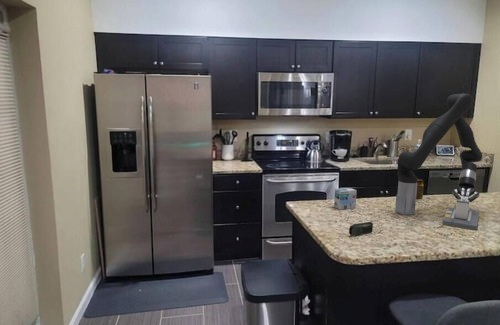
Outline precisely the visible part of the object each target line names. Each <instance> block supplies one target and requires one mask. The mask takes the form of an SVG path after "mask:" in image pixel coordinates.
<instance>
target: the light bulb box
mask: <svg viewBox="0 0 500 325" xmlns="http://www.w3.org/2000/svg"><path fill="white" fill-rule="evenodd" d="M333 200H334V202H333V207H334V208H336V209H338V210H339V211H340V210H354V209H356V207H357V189H354V188H352V187H344V188H341V187H340V188H334V199H333Z"/></svg>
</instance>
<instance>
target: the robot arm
mask: <svg viewBox="0 0 500 325" xmlns="http://www.w3.org/2000/svg"><path fill="white" fill-rule="evenodd" d="M473 100H474V98H473V97H472V95H471V94H469V93H455V94H451V95H449V96H448V97H447V99H446V101H445V102H446V108H447V110H448V111H447V112H445V113H443V114H442V115H440V116H438V117H437V118H436V119H434V120H432V122H431V123H430V124H429V125H428V126H427V127H426V128H425V130H424V132H423V134H422V139H421V143H420V145H419V146H418V147H417V149H416V150H414V151H413V152H412V151H402V152H401V153H400V154H399V156H398V157H397V158H398V159H397V177H398V183H397V184H398V186H397V194H396V195H395V205H394V206H395V207H394V212H395V213H398V214H401V215H403V216H404V215H406V216H407V215H408V216H409V215H410V216H411V215H412V216H414V215H415V213H416V205H417V204H416V202H417V200H416V192H417V180H418V179H419V178H418V176H417V175H415V173H414V171H417V170H419V169H420V168H421V167H422V166H423V164H424V163H425V161H426V160H427V158H428V157H429V155H430V154H431V153H432V151H433V150H434V148H435V147H436V146H437V145H438V143H439V142H440V141H441V140H442V139H443V138H444V137H445V136H446V134H447V133H448V131H450V130H451V128H452V127H453V126H454V127H455V128H456V133H457V136H458V139H459V143H460V146H461V147H462V148H465V150H462V151H461V152H460V153H459V158H460V159H459V160H460V163H461V169H460V175H459V179H458V185H457V187H456V189H452V190H451V193H452V195H453V196H454V198H455V199H456V200H457V199H463V200H470V201H469V203H473V202H474V201H475V200H476V199H479V197H480V192H477V191H476V181H477V169H478V168H477V163H478V162H481V161H482V160H483V152H482V151H481V150H480V148H479V146H478V144H477V142H476V140H475V136H474V131H473V130H472V128H471V126H470V124H469V123H468V122H467V120H466V119H465V118H464V116H463V115H464V114H465V113H466V112H467V111H468V110H470V108H471V106H472V105H473V102H474V101H473Z"/></svg>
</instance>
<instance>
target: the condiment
mask: <svg viewBox="0 0 500 325" xmlns="http://www.w3.org/2000/svg"><path fill="white" fill-rule="evenodd" d="M424 187H425V186H424V180H423V179H419V178H418V180H417V192H416V201H422V200H424V199H425V197H424Z"/></svg>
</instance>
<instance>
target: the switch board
mask: <svg viewBox="0 0 500 325" xmlns="http://www.w3.org/2000/svg"><path fill="white" fill-rule="evenodd" d="M455 215H456V206H454V207H448V209H447V210H446V212H445V214H444V218H443V220H442V225H444V226H448V227H454V228H461V229H466V230H473V231H478V224H479V216H480V211H477V210H473V208H469V209H468V217H467V219H461V218H455Z"/></svg>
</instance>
